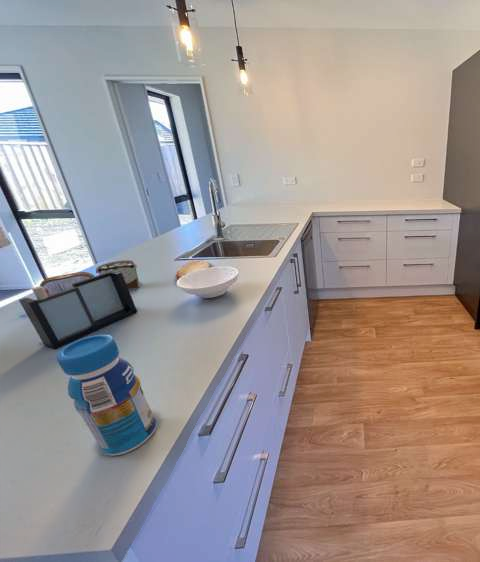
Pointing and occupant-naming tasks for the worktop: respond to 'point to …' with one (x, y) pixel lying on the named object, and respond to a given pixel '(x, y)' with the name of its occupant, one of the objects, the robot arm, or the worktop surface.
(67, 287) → the tin
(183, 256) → the worktop surface
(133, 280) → the food container
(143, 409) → the beverage bottle
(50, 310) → the sliding pane
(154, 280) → the worktop surface
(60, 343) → the window frame
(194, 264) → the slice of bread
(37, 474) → the worktop surface
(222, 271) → the bowl
